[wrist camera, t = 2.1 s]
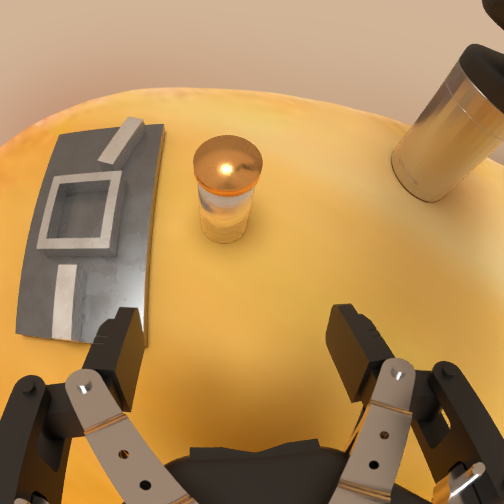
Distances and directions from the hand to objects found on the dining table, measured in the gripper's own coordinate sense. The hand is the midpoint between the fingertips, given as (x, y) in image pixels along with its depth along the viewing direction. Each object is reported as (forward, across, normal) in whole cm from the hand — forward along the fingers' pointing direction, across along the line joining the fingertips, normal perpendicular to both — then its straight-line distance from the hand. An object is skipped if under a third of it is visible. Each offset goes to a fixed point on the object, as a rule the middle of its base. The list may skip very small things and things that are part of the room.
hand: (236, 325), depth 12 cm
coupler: (+18, 0, +2) cm, 19 cm away
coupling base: (+18, +14, +2) cm, 23 cm away
